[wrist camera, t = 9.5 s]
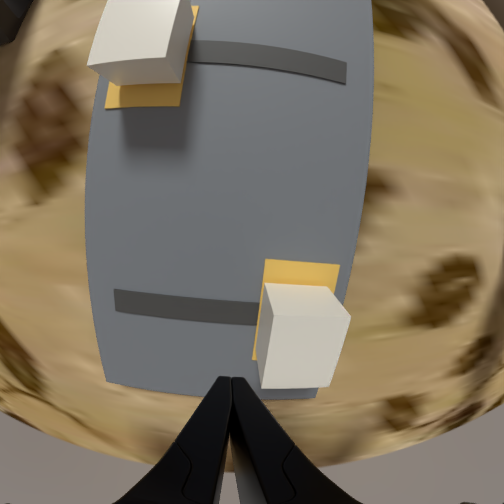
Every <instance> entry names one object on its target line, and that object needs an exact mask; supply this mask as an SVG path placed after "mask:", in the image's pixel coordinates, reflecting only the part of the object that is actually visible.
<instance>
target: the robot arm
mask: <svg viewBox="0 0 504 504" xmlns="http://www.w3.org/2000/svg"><path fill="white" fill-rule="evenodd" d="M229 434H230V445H231V451H232V458H233V464H234V470H235V476H236V482H237V488H238V493H239V499H240V504H363V503H361V502H359V501H357V500H355V499H354V498H352V497H351V496H350V495H348V494H347V493H346V492H344V491H343V490H342V489H341V488H339V487H338V486H337V485H336V484H335V483H334V482H332V481H331V480H330V479H329V478H328V477H326V476H325V475H324V474H323V473H322V472H321V471H320V470H319V469H318V468H316V467H315V466H314V465H313V464H312V463H311V462H310V460H309V459H308V458H307V457H306V456H305V455H304V454H303V453H302V452H301V450H300V449H299V448H298V447H297V446H296V445H295V443H294V442H293V441H292V439H291V438H290V437H289V436H288V434H287V433H286V432H285V431H284V429H283V428H282V427H281V426H280V424H279V423H278V422H277V421H276V419H275V418H274V417H273V415H272V414H271V413H270V411H269V410H268V409H267V407H266V406H265V405H264V403H263V402H262V401H261V399H260V398H259V397H258V395H257V394H256V393H255V391H254V390H253V388H252V387H251V386H250V384H249V383H248V382H247V380H246V379H245V378H244V377H232V378H231V377H230V376H218V377H217V379H216V380H215V382H214V383H213V385H212V386H211V388H210V389H209V391H208V392H207V394H206V395H205V397H204V398H203V400H202V401H201V403H200V404H199V406H198V407H197V409H196V410H195V412H194V413H193V415H192V416H191V418H190V419H189V421H188V422H187V423H186V425H185V426H184V428H183V429H182V431H181V432H180V434H179V435H178V436H177V438H176V439H175V442H173V443H172V445H171V446H170V448H169V449H168V450H167V452H166V453H165V454H164V455H163V457H162V458H161V459H160V460H159V462H158V463H157V464H156V465H155V466H154V467H153V468H152V469H151V470H150V471H149V472H148V473H147V474H146V475H145V476H144V477H143V478H142V479H141V480H140V481H139V482H138V483H137V484H136V485H135V486H133V487H132V488H131V489H130V490H129V491H128V492H127V493H126V494H125V495H124V496H122V497H121V498H120V499H119V500H117V501H116V502H115V503H112V504H219V500H220V493H221V487H222V480H223V474H224V468H225V461H226V455H227V448H228V441H229ZM6 504H9V503H6ZM460 504H475V503H469V502H462V503H460ZM503 504H504V503H503Z"/></svg>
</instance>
